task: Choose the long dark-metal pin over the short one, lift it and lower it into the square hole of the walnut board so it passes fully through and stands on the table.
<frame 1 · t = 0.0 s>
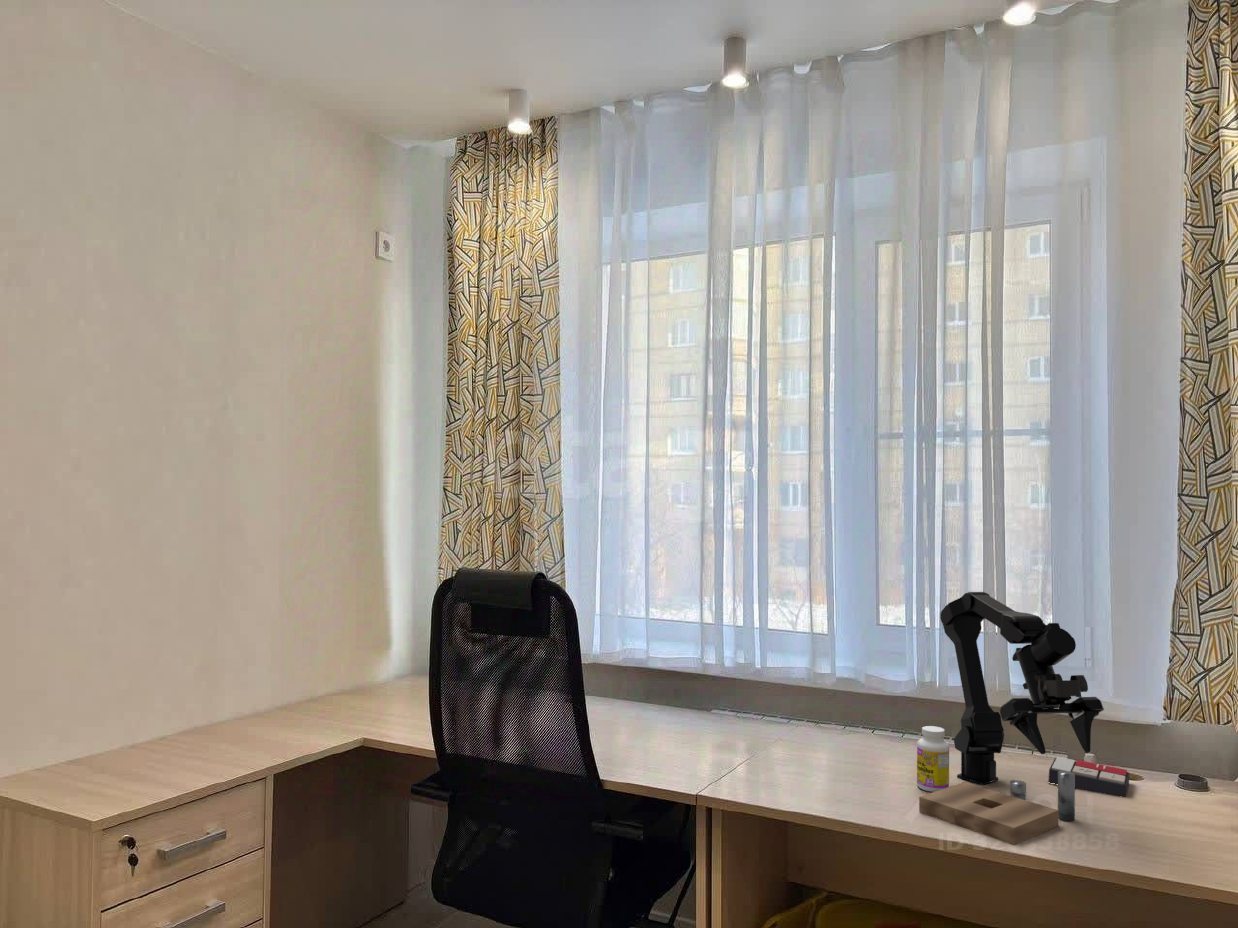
hand: (1066, 752, 169), 15 cm above the table, tool tilted 35°, fingers open, 9 cm apart
supplement bottle: (932, 789, 193), on the table
short metal pin: (1018, 804, 184), on the table
walnut hole board: (987, 818, 175), on the table
dark boxy piece: (1089, 786, 197), on the table
long metal pin: (1066, 818, 176), on the table
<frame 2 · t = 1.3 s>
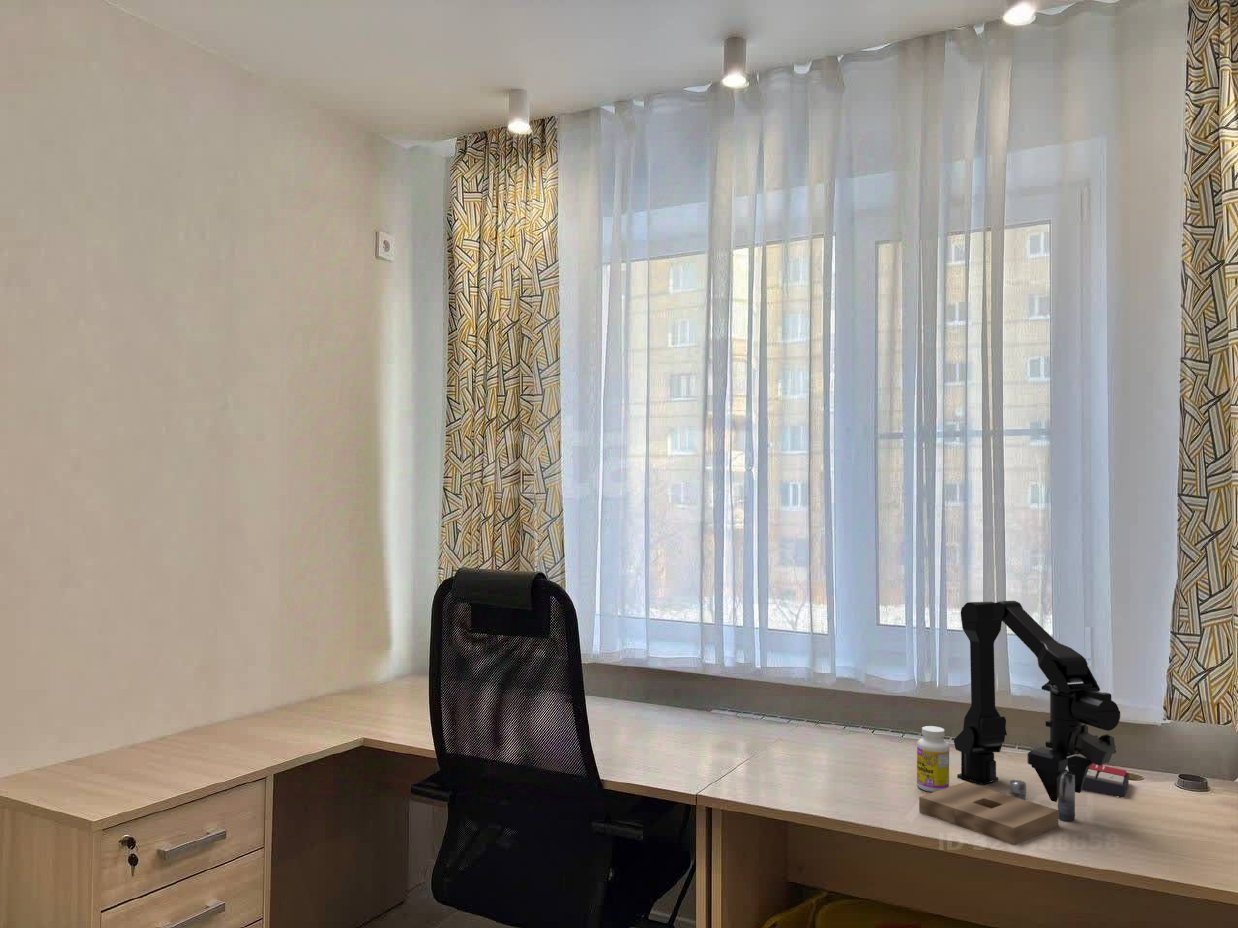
hand: (1065, 796, 176), 4 cm above the table, tool pointing down, fingers open, 9 cm apart
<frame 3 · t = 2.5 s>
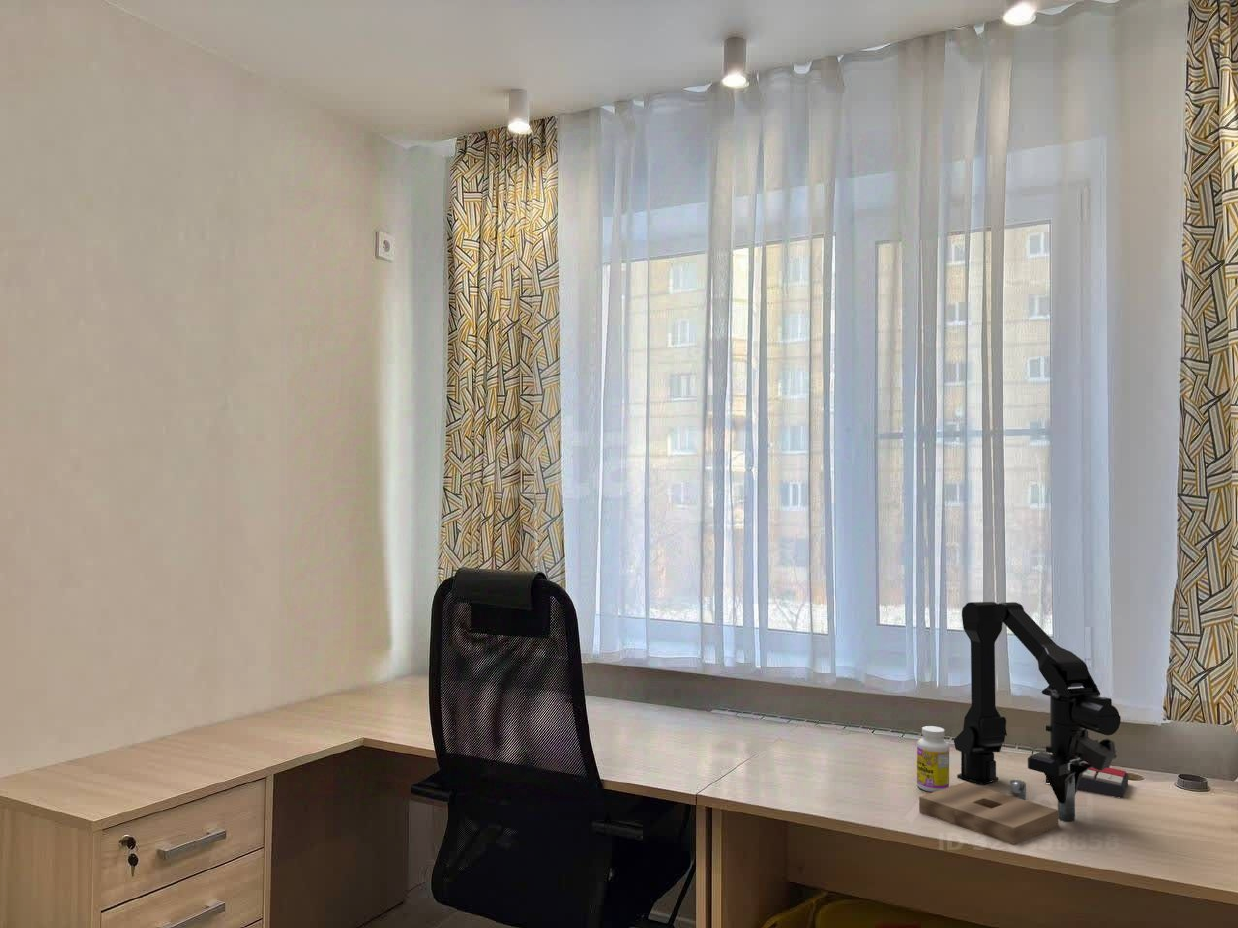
hand: (1066, 801, 176), 3 cm above the table, tool pointing down, fingers closed on long metal pin, 3 cm apart
long metal pin: (1066, 818, 176), on the table, touching gripper
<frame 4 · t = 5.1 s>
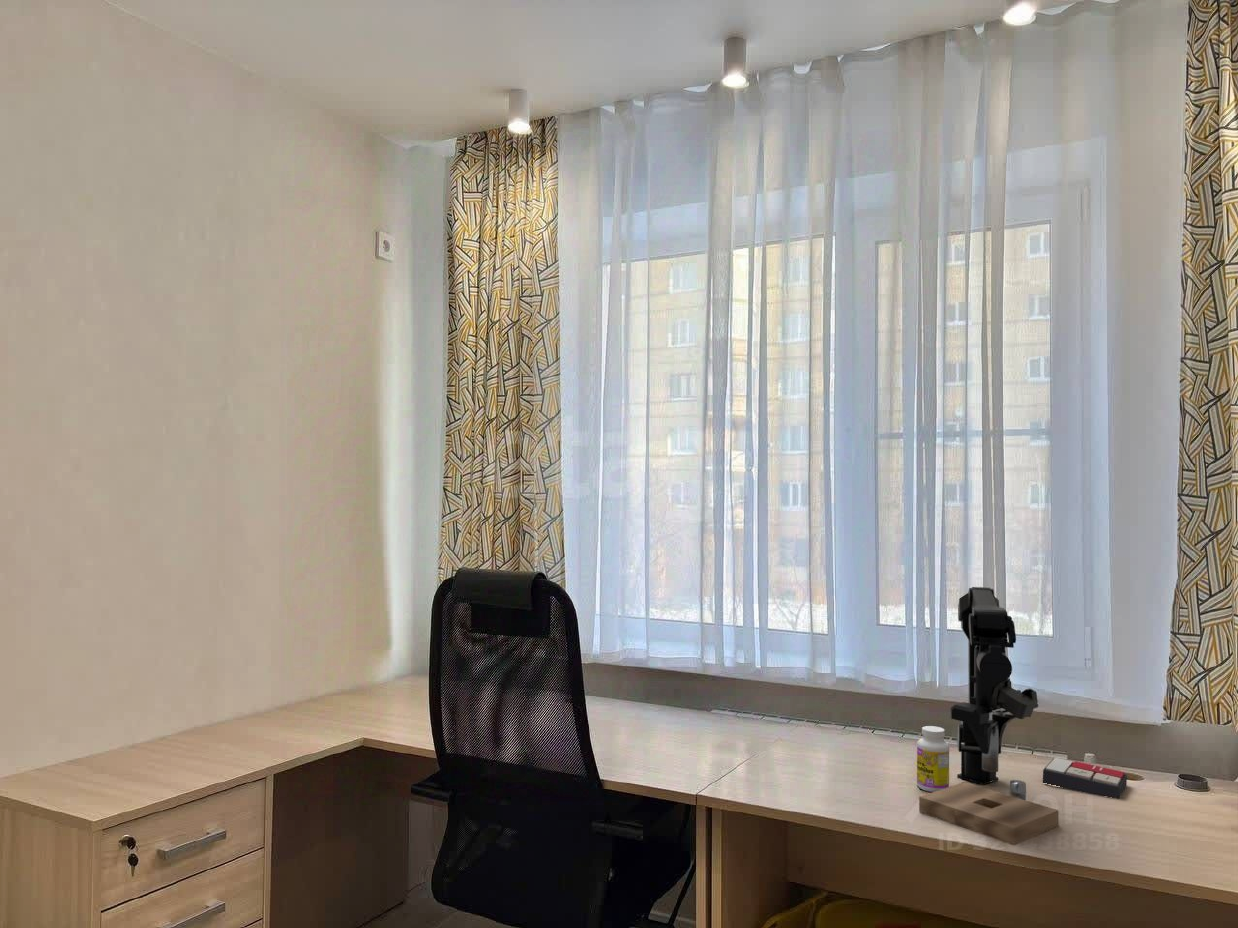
hand: (989, 752, 176), 13 cm above the table, tool pointing down, fingers closed on long metal pin, 3 cm apart
long metal pin: (990, 769, 175), point 10 cm above the table, touching gripper
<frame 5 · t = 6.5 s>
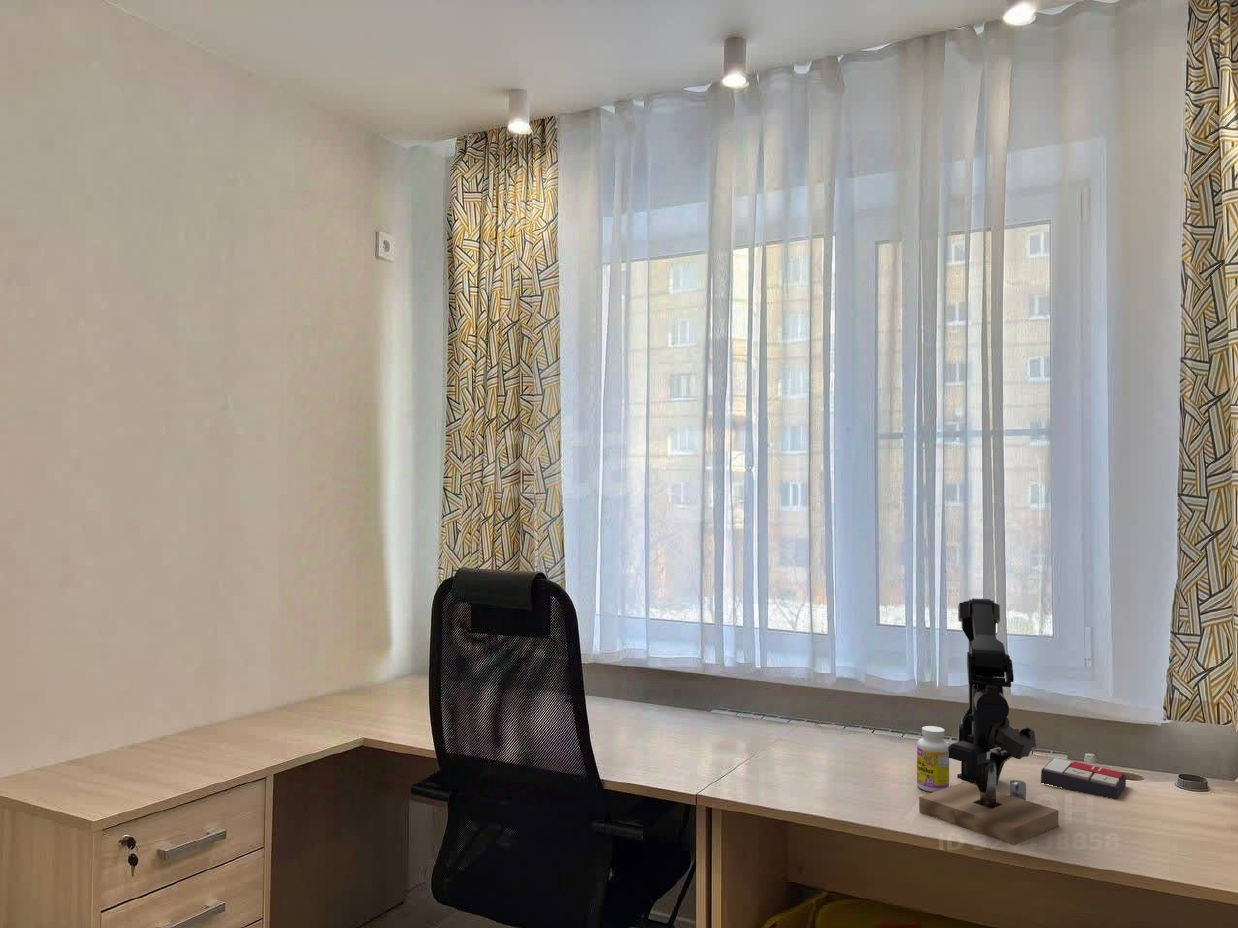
hand: (987, 790, 175), 5 cm above the table, tool pointing down, fingers closed on long metal pin, 3 cm apart
long metal pin: (987, 808, 175), point 2 cm above the table, touching gripper
when the fingers open (5 cm above the table, at t = 7.6 s): long metal pin drops 1 cm, resting in walnut hole board.
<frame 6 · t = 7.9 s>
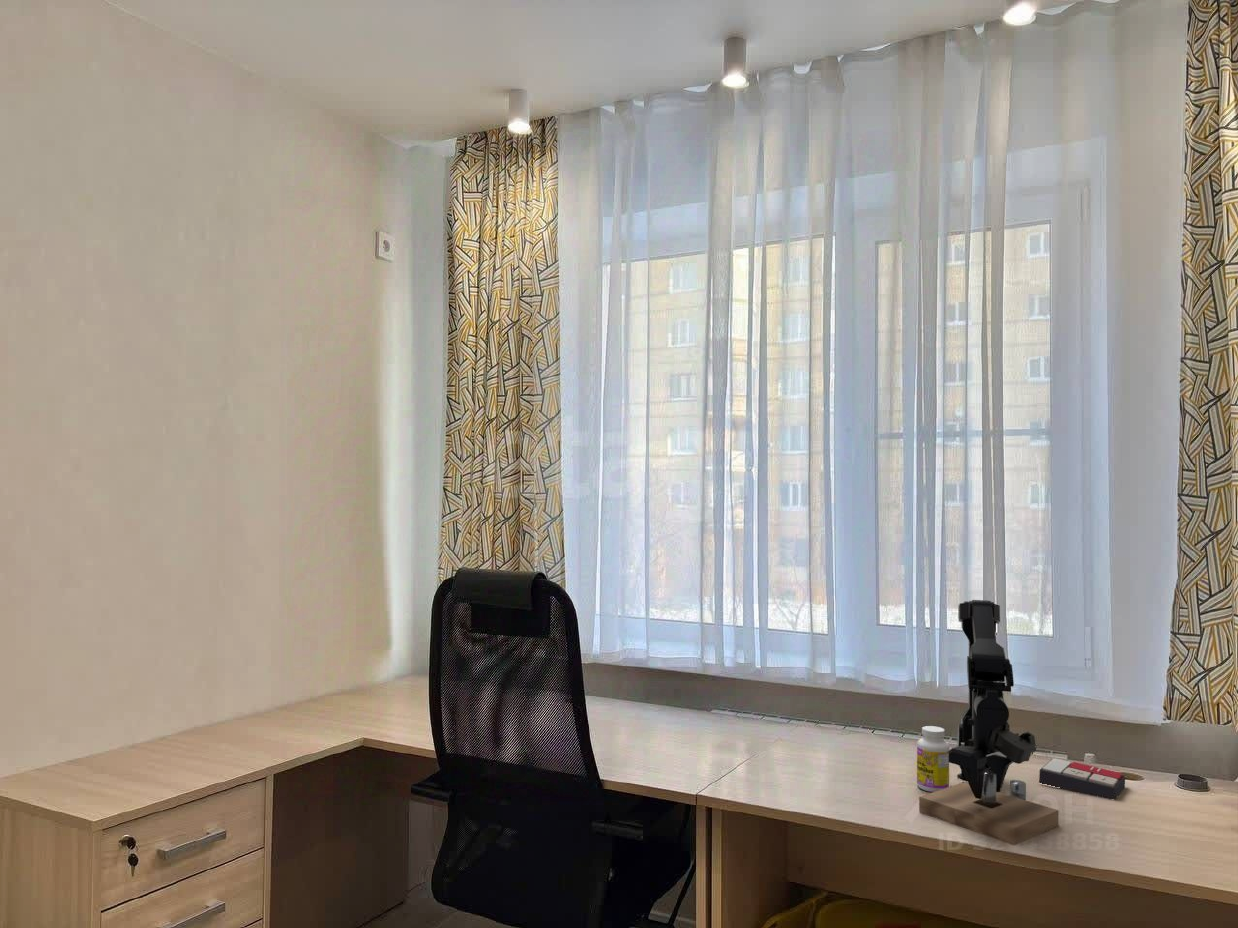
hand: (987, 794, 175), 5 cm above the table, tool pointing down, fingers open, 6 cm apart
long metal pin: (987, 818, 175), resting in walnut hole board
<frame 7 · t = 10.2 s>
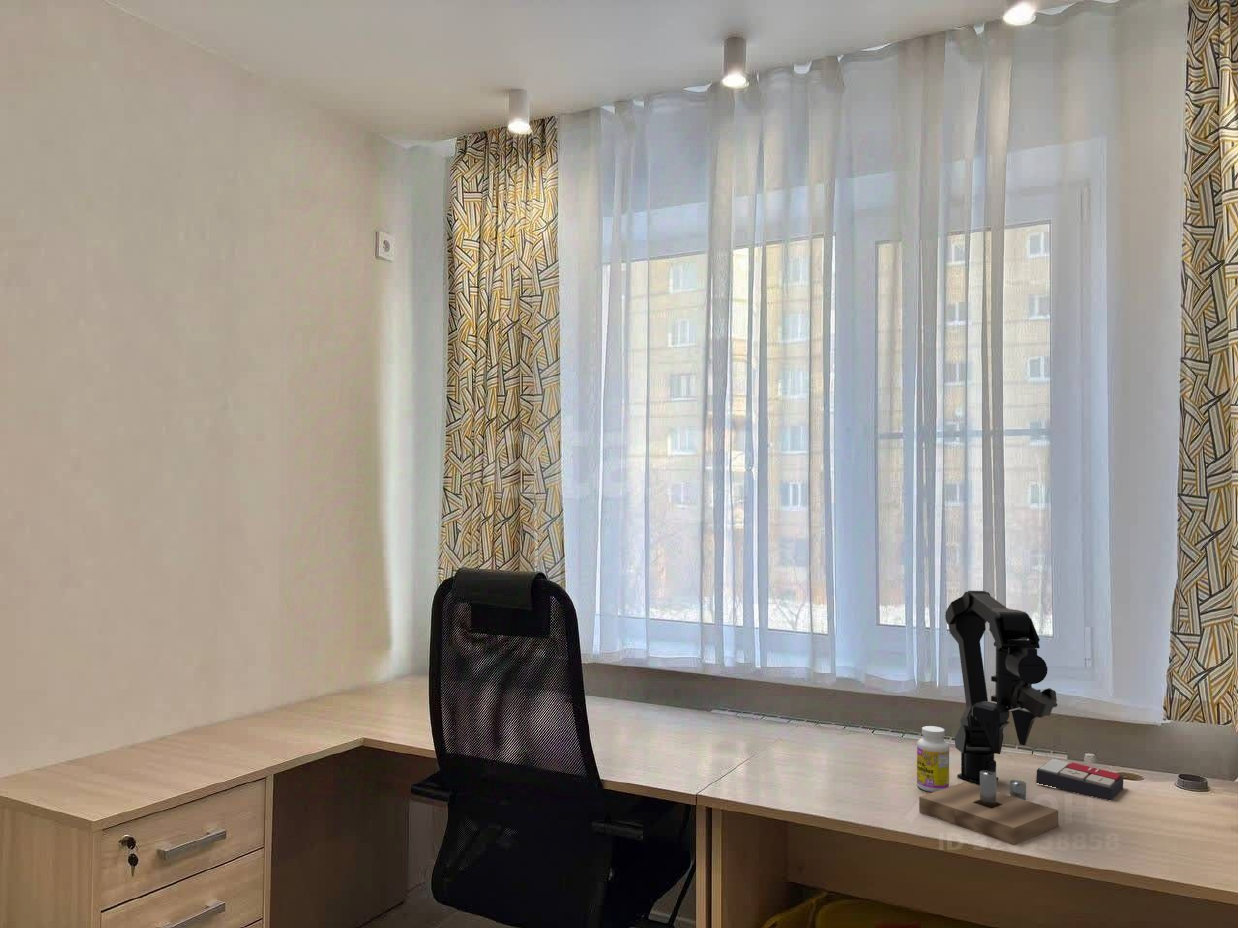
hand: (1010, 748, 183), 12 cm above the table, tool pointing down, fingers open, 9 cm apart
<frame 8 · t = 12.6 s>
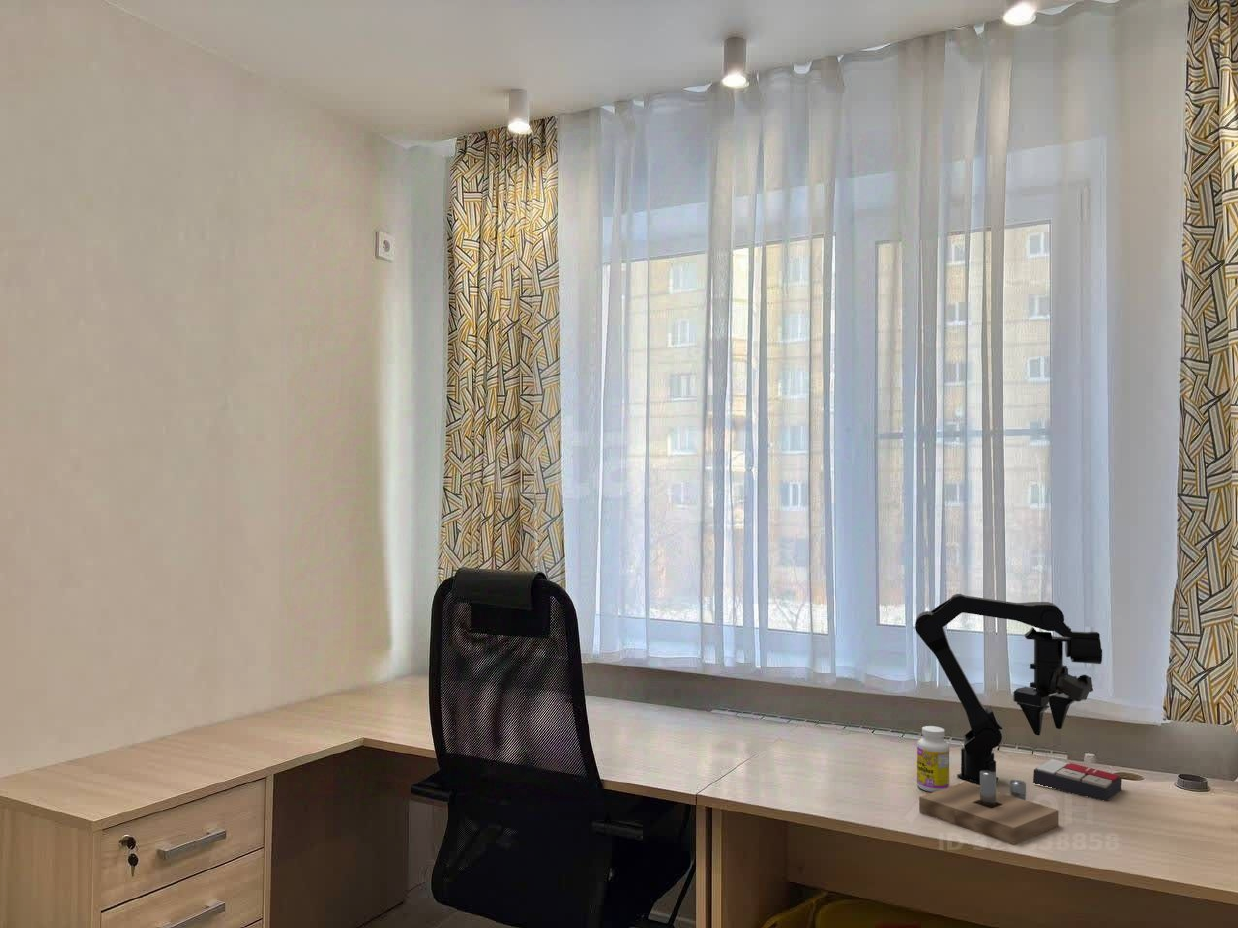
hand: (1048, 731, 195), 12 cm above the table, tool pointing down, fingers open, 9 cm apart
at the end: long metal pin 0.1 cm off-centre on the walnut hole board, point 0.0 cm above the walnut hole board's base; long metal pin tilted 0°; the gripper is holding nothing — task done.
